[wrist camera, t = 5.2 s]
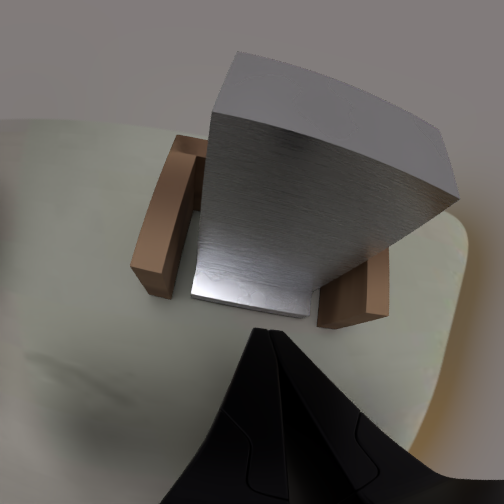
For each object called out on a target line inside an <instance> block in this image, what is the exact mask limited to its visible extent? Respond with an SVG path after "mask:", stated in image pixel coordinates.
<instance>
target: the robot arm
mask: <svg viewBox="0 0 504 504" xmlns="http://www.w3.org/2000/svg"><path fill="white" fill-rule="evenodd" d="M159 504H504V480H471V479H456V478H449V477H446V476H443V475H440V474H438V473H436V472H434V471H433V470H431V469H430V468H428V467H427V466H426V465H424V464H423V463H422V462H420V461H419V460H418V459H416V458H415V457H414V456H412V455H411V454H410V453H408V452H407V451H406V450H404V449H403V448H402V447H401V446H399V445H398V444H397V443H396V442H394V441H393V440H392V439H391V438H389V437H388V436H387V435H386V434H385V433H384V432H382V431H381V430H380V429H379V428H378V427H377V426H376V425H375V424H374V423H373V422H372V421H371V420H370V419H369V418H368V417H367V416H366V415H364V414H363V413H362V412H360V410H359V409H358V408H357V407H356V406H355V405H354V404H353V403H352V402H351V401H350V400H349V399H348V398H347V397H346V396H345V395H344V394H343V393H342V392H341V391H340V390H339V389H338V388H337V387H336V386H335V385H334V384H333V383H332V382H331V380H330V379H329V378H328V377H327V376H326V375H325V374H324V373H323V372H322V371H321V370H320V369H319V368H318V367H317V366H316V365H315V364H314V363H313V362H312V361H311V360H310V359H309V358H308V357H307V356H306V355H305V354H304V353H303V352H302V350H301V349H300V348H299V347H298V346H297V345H296V344H295V343H294V342H293V341H292V340H291V339H290V338H289V337H288V336H287V335H286V334H285V333H284V332H283V331H279V330H267V329H262V328H253V329H252V332H251V334H250V337H249V339H248V342H247V344H246V346H245V349H244V351H243V354H242V356H241V359H240V361H239V363H238V366H237V368H236V371H235V373H234V375H233V378H232V380H231V383H230V385H229V387H228V390H227V392H226V394H225V397H224V399H223V401H222V404H221V406H220V408H219V411H218V413H217V415H216V417H215V419H214V422H213V424H212V426H211V428H210V430H209V432H208V434H207V436H206V438H205V440H204V442H203V443H202V445H201V446H200V448H199V449H198V451H197V453H196V454H195V456H194V457H193V459H192V460H191V462H190V463H189V464H188V466H187V467H186V469H185V470H184V471H183V473H182V474H181V476H180V477H179V478H178V480H177V481H176V482H175V484H174V485H173V487H172V488H171V489H170V491H169V492H168V493H167V495H166V496H165V497H164V498H163V500H162V501H161V502H160V503H159Z"/></svg>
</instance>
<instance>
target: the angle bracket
mask: <svg viewBox="0 0 504 504" xmlns="http://www.w3.org/2000/svg"><path fill="white" fill-rule="evenodd" d="M458 200H460V197H459V192H458V188H457V184H456V181H455V177H454V173H453V170H452V167H451V163H450V160H449V157H448V154H447V151H446V148H445V145H444V142H443V139H442V136H441V133H440V131H439V129H438V128H436V127H434V126H433V125H431V124H429V123H428V122H426V121H424V120H422V119H420V118H418V117H417V116H415V115H413V114H411V113H409V112H408V111H406V110H404V109H402V108H400V107H398V106H396V105H394V104H392V103H390V102H388V101H386V100H383V99H381V98H379V97H377V96H375V95H372V94H370V93H368V92H366V91H364V90H361V89H359V88H356V87H354V86H352V85H349V84H347V83H344V82H342V81H339V80H336V79H333V78H331V77H328V76H325V75H322V74H319V73H317V72H314V71H311V70H308V69H304V68H301V67H298V66H294V65H291V64H288V63H284V62H281V61H277V60H273V59H269V58H265V57H261V56H257V55H253V54H248V53H244V52H239V51H237V53H236V55H235V57H234V60H233V62H232V64H231V67H230V69H229V71H228V73H227V76H226V78H225V80H224V83H223V85H222V87H221V90H220V92H219V95H218V97H217V100H216V102H215V105H214V107H213V110H212V114H211V122H210V130H209V137H208V145H207V153H206V162H205V171H204V180H203V190H202V201H201V212H200V224H199V236H198V250H197V265H196V272H195V277H194V282H193V286H192V291H191V298H196V299H201V300H205V301H210V302H215V303H220V304H225V305H230V306H235V307H240V308H246V309H251V310H256V311H262V312H267V313H273V314H279V315H285V316H291V317H297V318H305V317H307V316H309V314H310V305H311V295H312V292H313V291H315V290H317V289H319V288H320V287H322V286H324V285H326V284H327V283H329V282H331V281H333V280H334V279H336V278H338V277H340V276H341V275H343V274H345V273H346V272H348V271H350V270H352V269H353V268H355V267H357V266H358V265H360V264H362V263H363V262H365V261H367V260H368V259H370V258H372V257H373V256H375V255H376V254H378V253H380V252H381V251H383V250H385V249H386V248H388V247H389V246H391V245H392V244H394V243H396V242H397V241H399V240H400V239H402V238H403V237H405V236H407V235H408V234H410V233H411V232H413V231H414V230H416V229H417V228H419V227H420V226H422V225H423V224H425V223H426V222H428V221H429V220H431V219H432V218H434V217H435V216H437V215H438V214H440V213H441V212H443V211H444V210H445V209H447V208H448V207H450V206H451V205H453V204H454V203H455V202H457V201H458Z"/></svg>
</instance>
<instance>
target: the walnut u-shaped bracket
mask: <svg viewBox="0 0 504 504" xmlns="http://www.w3.org/2000/svg"><path fill="white" fill-rule="evenodd" d="M207 145H208V140H203V139H198V138H193V137H188V136H182V135H176V138H175V140H174V142H173V145H172V147H171V149H170V152H169V154H168V157H167V159H166V162H165V164H164V167H163V169H162V172H161V174H160V177H159V180H158V182H157V185H156V188H155V190H154V193H153V196H152V199H151V201H150V204H149V207H148V210H147V213H146V216H145V219H144V222H143V225H142V228H141V231H140V234H139V237H138V241H137V244H136V247H135V250H134V254H133V257H132V261H131V264H130V267H131V268H132V270H133V271H134V273H135V274H136V276H137V277H138V279H139V280H140V282H141V283H142V285H143V286H144V288H145V289H146V291H147V292H148V293H149V294H150V295H154V296H158V297H162V298H167V299H171V298H172V293H173V289H174V285H175V280H176V276H177V272H178V268H179V263H180V259H181V255H182V251H183V247H184V243H185V239H186V236H187V232H188V228H189V224H190V221H191V217H192V213H193V210H196V211H201V201H202V190H203V180H204V171H205V162H206V153H207ZM387 316H389V247H388V248H386V249H385V250H383V251H381V252H380V253H378V254H376V255H375V256H373V257H372V258H370V259H368V260H367V261H365V262H363V263H362V264H360V265H358V266H357V267H355V268H353V269H352V270H350V271H348V272H346V273H345V274H343V275H341V276H340V277H338V278H336V279H334V280H333V281H331V282H329V283H327V284H326V285H324V286H322V287H321V289H320V301H319V311H318V321H317V327H323V328H331V329H339V328H343V327H348V326H352V325H356V324H360V323H364V322H368V321H372V320H376V319H380V318H383V317H387Z"/></svg>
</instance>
